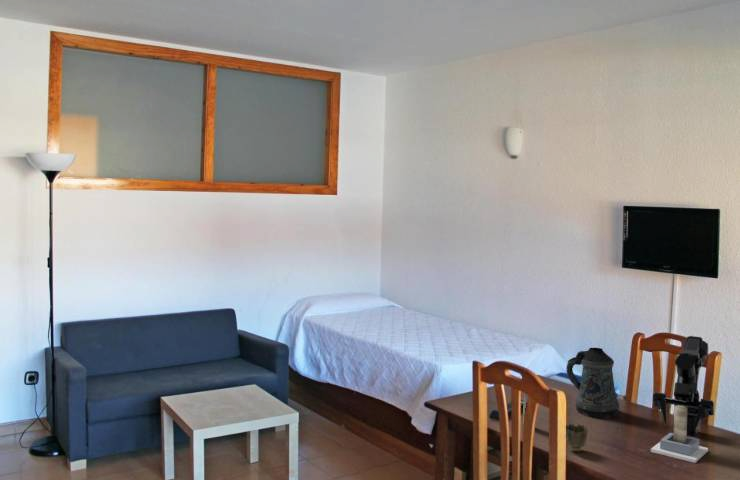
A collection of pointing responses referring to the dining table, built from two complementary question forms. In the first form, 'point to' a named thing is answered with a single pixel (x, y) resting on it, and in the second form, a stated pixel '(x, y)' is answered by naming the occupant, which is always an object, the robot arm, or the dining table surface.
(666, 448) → the socket block
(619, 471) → the dining table surface
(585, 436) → the cup
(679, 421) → the peg
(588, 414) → the beer stein
